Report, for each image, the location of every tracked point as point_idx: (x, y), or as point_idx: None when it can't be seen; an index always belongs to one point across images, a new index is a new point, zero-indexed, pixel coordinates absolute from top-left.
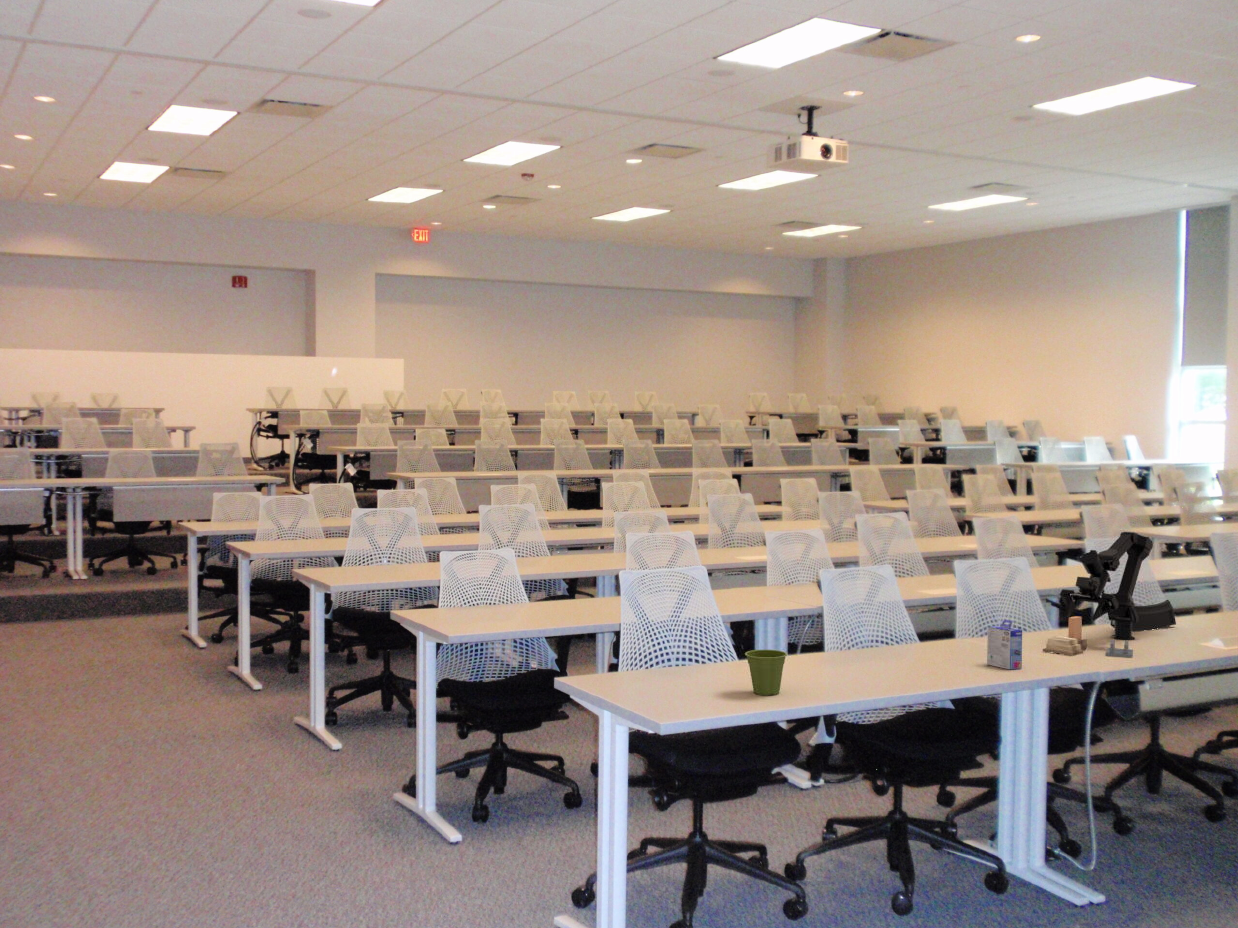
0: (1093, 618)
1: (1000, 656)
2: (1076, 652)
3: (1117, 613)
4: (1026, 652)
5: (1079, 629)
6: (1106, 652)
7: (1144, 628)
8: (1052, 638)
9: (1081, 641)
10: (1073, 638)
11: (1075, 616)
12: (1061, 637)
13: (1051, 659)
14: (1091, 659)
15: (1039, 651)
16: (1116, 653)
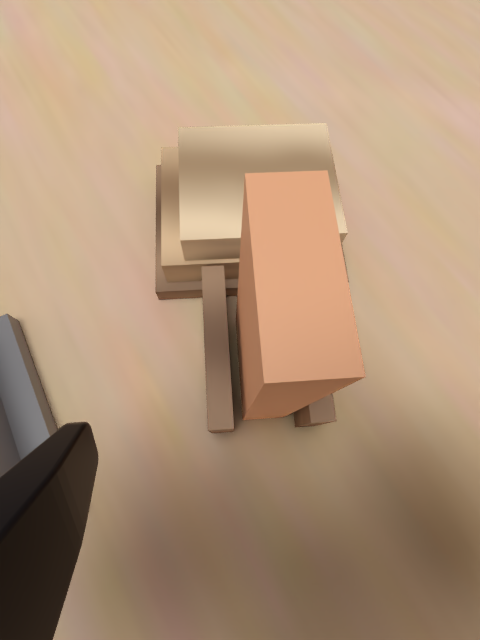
0: (62, 428)
1: None
2: (156, 219)
3: None
4: (355, 110)
5: (247, 357)
6: (6, 330)
7: None
8: (301, 137)
9: (205, 346)
10: (209, 234)
11: (346, 337)
12: None
13: (177, 58)
14: (37, 174)
15: (339, 170)
16: None
